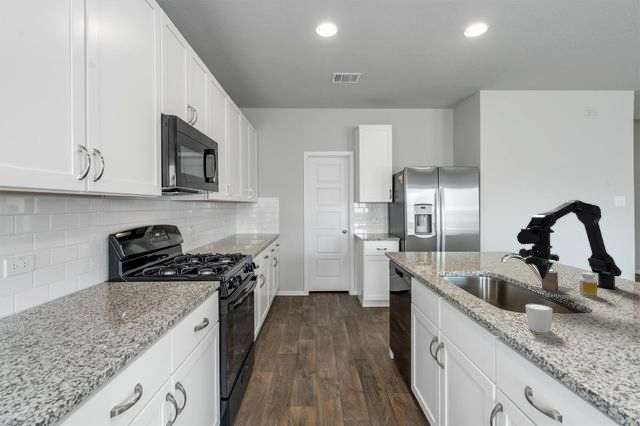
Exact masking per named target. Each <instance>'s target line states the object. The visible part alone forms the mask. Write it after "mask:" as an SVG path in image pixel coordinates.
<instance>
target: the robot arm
mask: <svg viewBox="0 0 640 426" xmlns="http://www.w3.org/2000/svg"><path fill="white" fill-rule="evenodd" d="M570 213H573V214H575V216H576V217H577V218H576V219H578V221H579V222H581V224H583V226H584V230H585V233H586V235H587V240H588V244H589V248H590V251H591V255H590V256H589V257H588V258H587V261H588V266H589V267H590V268H591V272H592V273H593V274H597V288H599V289H605V290H613V291H614V290H617V289H618V288H619V287H618V286H616V277H617V278H618V277H621V276H622V274H623V271H622V270H621V269H620V267H618V265H617V264H616V262H615V259H614V257H612V256H611V255H610V254H609V253H608V252H607V249H606V246H605V241H604V238H603V235H602V231H601V228H600V227H601V226H600V220H601V219H602V209H601V207H600V206H598V205H597V204H592V203H588V202H585V201H581V200H579V199H572V200H571V199H569V200H567V201H565V202H564V203H562V204H560V205H558V206H556V207H555V208H553V209H551V210H549V211H547V212H542V213H537V214H534V215H532V217H531V219H530V221H529V222H528V224H527V226H526V227H525V228H521V229H520V231H519V232H518V233H517V235H516V240H517V242H518V244H521V245H532V246H531V248H529V249H526V248H520V249H519V251H518V255H519V256H520V257H521V259H525V260H524V261H525V264H527V265H532V266H535V267H536V268H537V269H536V270H537V271H538V274H539V276H540V279H541V280H542V279H545V277H546V275H547V273H548V272H549V271H551V268H552V266H553V265H554V262H559V261H560V256H559V255H558V254H557V253H556V254H555V253H554V254H553V253H551V249H553V245H551V234H553V233H555V231H554V230H553V229H552V227H554V225H555V224H557V221H558V220H560V219H562V218H563V217H566V216H567V215H568V214H570ZM537 251H538V252H537ZM551 261H554V262H551Z"/></svg>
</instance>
